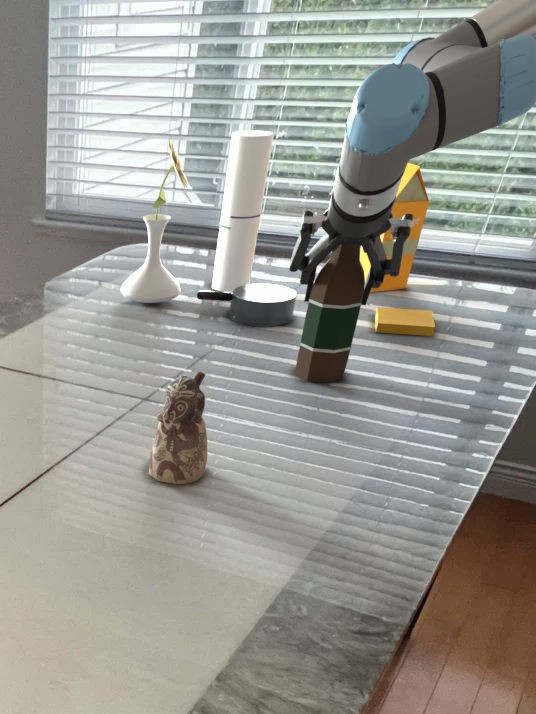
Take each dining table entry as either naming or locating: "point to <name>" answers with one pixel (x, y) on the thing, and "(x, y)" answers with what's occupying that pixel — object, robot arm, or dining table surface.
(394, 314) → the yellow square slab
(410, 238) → the orange juice
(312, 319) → the beer bottle
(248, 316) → the steel pan
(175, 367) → the dining table surface
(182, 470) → the figurine
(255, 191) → the cylindrical container
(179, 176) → the flower in vase
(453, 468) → the dining table surface
